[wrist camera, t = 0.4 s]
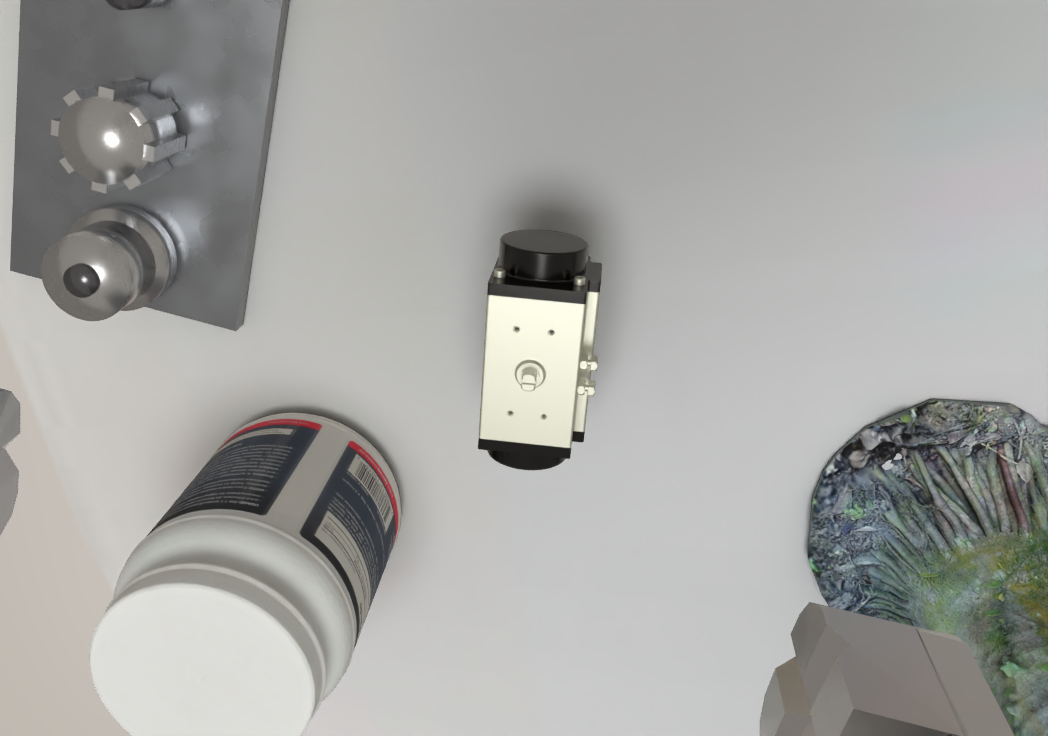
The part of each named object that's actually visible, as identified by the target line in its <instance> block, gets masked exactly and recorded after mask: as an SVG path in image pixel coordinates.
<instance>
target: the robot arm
mask: <svg viewBox="0 0 1048 736" xmlns="http://www.w3.org/2000/svg"><path fill="white" fill-rule="evenodd" d="M19 433H20V403H19V401H18V400H17V399H16V397H15V396H14V395H13V393H12V392H11V391H8V390H4V389H1V388H0V535H1V533H2V532H3V530H4V528H5V526H6V524H7V522H8V521H9V519H10V517H11V516H12V512H13V508H14V504H15V501H16V497H17V493H18V477H19V471H18V469H17V467H16V466H15V464H14V463H13V461H12V459H11V458H10V456H9V454H8V453H7V451H6V450H5V447H6V446H7V445H8V444H9V443H10V442H11V441H12V440H13V439H14V438H15V437H16V436H17V435H19ZM791 637H792V641H793V645H794V649H795V654H796V657H794V658H792V659H791V660H789V661H787V662H786V663H784V664H782V665H781V666H779V667H777V668H775V671H774V673H773V676H772V678H771V681H770V683H769V686H768V688H767V691H766V693H765V697H764V702H763V707H762V712H761V718H760V736H1014V734H1013V732H1012V730H1011V728H1010V726H1009V724H1008V722H1007V720H1006V718H1005V717H1004V715H1003V713H1002V711H1001V709H1000V707H999V705H998V703H997V701H996V699H995V697H994V695H993V693H992V691H991V689H990V688H989V686H988V684H987V682H986V680H985V678H984V676H983V674H982V672H981V670H980V668H979V666H978V664H977V662H976V660H975V659H974V657H973V655H972V653H971V651H970V649H969V647H968V645H967V644H966V643H965V642H964V641H963V640H961V639H960V638H959V637H957V636H956V635H951V634H947V633H942V632H938V631H933V630H929V629H924V628H919V627H915V626H910V625H905V624H901V623H897V622H892V621H888V620H884V619H880V618H875V617H871V616H867V615H863V614H858V613H854V612H850V611H846V610H841V609H837V608H833V607H829V606H824V605H820V604H815V603H811V602H809V604H808V605H807V606H806V607H805V609H804V610H803V611H802V612H801V613H800V615H799V617H798V619H797V622H796V624H795V626H794V628H793V630H792V632H791Z"/></svg>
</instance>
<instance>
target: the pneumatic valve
mask: <svg viewBox="0 0 1048 736" xmlns="http://www.w3.org/2000/svg"><path fill="white" fill-rule="evenodd" d="M587 254H588V244H587V242H586V241H584V240H583V239H581V238H579V237H577V236H574V235H571V234H567V233H562V232H557V231H549V230H518V231H512V232H509V233H506V234H504V235H503V236H502V237H501V239H500V253H499V258H498V260H497V262H496V265H495V267H494V270H493V272H492V274H491V277H490V279H489V281H488V294H487V310H486V327H485V343H484V359H483V376H482V392H481V409H480V425H479V442H478V449H483V450H487V451H488V453H489V455H490V456H491V457H492V458H493V459H494V460H496V461H497V462H499V463H501V464H503V465H506V466H508V467H512V468H516V469H522V470H542V469H548V468H552V467H554V466H557V465H559V464H560V463H562V462H563V461H564V460H565V459H566V458H567V459H569V458H570V454H571V444H572V441H575V442H584V433H585V423H586V414H587V405H588V396H594V391H595V381H591V380H590V377H591V371H597V363H598V356H596V355H593V349H594V340H595V331H596V321H597V312H598V303H599V294H600V284H601V270H602V264H601V263H593V262H590V258H591V257H590V256H587Z"/></svg>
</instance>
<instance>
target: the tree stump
mask: <svg viewBox="0 0 1048 736" xmlns="http://www.w3.org/2000/svg"><path fill="white" fill-rule="evenodd" d="M897 453H900V454H901V455H902V459H900V460H893V459H894V457H895V456H896V454H897ZM891 459H892V461H891V463H893V464H894V465H893V467H892V468H891V469H889V470H884V469H883V468H882V465H883V464H884V463H885V462H886V461H888V460H891ZM808 559H809V562H810V564H811V567H812V570H813V573H814V575H815V578H816V581H817V583H818V586H819V589H820V592H821V594H822V596H823V597H824V599H825V600H826V602H827V604H828V605H829V607H833V608H837V609H841V610H846V611H850V612H854V613H858V614H863V615H867V616H871V617H875V618H880V619H884V620H888V621H892V622H897V623H901V624H905V625H910V626H915V627H919V628H924V629H929V630H933V631H938V632H942V633H947V634H951V635H956V636H957V637H959V638H960V639H961V640H963V641H964V642H965V643H966V644H967V645H968V647H969V649H970V651H971V653H972V655H973V657H974V659H975V660H976V662H977V664H978V666H979V668H980V670H981V672H982V674H983V676H984V678H985V680H986V682H987V684H988V686H989V688H990V689H991V691H992V693H993V695H994V697H995V699H996V701H997V703H998V705H999V707H1000V709H1001V711H1002V713H1003V715H1004V717H1005V718H1006V720H1007V722H1008V724H1009V726H1010V728H1011V730H1012V732H1013V734H1014V736H1048V427H1045V426H1043V425H1041V424H1040V423H1039V422H1038V421H1037V420H1035V419H1034V418H1033V417H1032V416H1031V415H1030V414H1029V413H1027V412H1025V411H1023V410H1021V409H1019V408H1017V407H1016V406H1015V405H1013V404H1010V403H996V402H980V401H964V400H948V399H930V400H928V401H925V402H923V403H921V404H918V405H916V406H913V407H911V408H909V409H906V410H904V411H902V412H899V413H897V414H894V415H892V416H890V417H887V418H885V419H883V420H880V421H878V422H875V423H873V424H871V425H868V426H866V427H864V428H863V429H862V430H861V431H860V432H859V433H857V434H856V435H855V436H854V437H853V438H852V439H851V440H850V441H848V442H847V443H846V444H845V445H844V446H843V447H842V448H841V449H839V450H838V451H837V452H836V453H835V454H834V456H833V457H832V458H831V460H830V461H829V462H828V464H827V465H826V467H825V468H824V469H823V471H822V474H821V476H820V479H819V481H818V484H817V486H816V489H815V491H814V494H813V496H812V507H811V519H810V531H809V544H808Z"/></svg>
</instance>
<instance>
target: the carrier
mask: <svg viewBox="0 0 1048 736" xmlns="http://www.w3.org/2000/svg"><path fill="white" fill-rule="evenodd" d="M289 1H290V0H21V5H20V31H19V57H18V82H17V108H16V134H15V160H14V185H13V211H12V237H11V263H10V271H14V272H18V273H21V274H25V275H29V276H33V277H36V278H40V279H42V280H43V284H44V286H45V289H46V291H47V293H48V295H49V296H50V297H51V299H52V300H53V301H54V302H55V304H56V305H57V306H58V307H59V308H61V309H62V310H63V311H65V312H66V313H68V314H69V315H71V316H73V317H76V318H79V319H82V320H87V321H99V320H104V319H107V318H109V317H111V316H113V315H114V314H116V313H117V312H118V311H120V310H122V311H128V310H135V309H139V308H142V307H148V308H152V309H156V310H159V311H163V312H167V313H171V314H174V315H178V316H182V317H186V318H189V319H193V320H197V321H200V322H204V323H208V324H212V325H215V326H219V327H223V328H227V329H230V330H234V331H236V330H238V329H239V328H240V327H241V326H242V325H243V321H244V314H245V307H246V300H247V293H248V286H249V279H250V273H251V266H252V259H253V252H254V245H255V238H256V231H257V224H258V217H259V210H260V203H261V196H262V189H263V182H264V175H265V168H266V161H267V154H268V147H269V140H270V133H271V126H272V119H273V112H274V105H275V98H276V91H277V84H278V77H279V70H280V63H281V56H282V49H283V42H284V36H285V29H286V22H287V15H288V8H289Z"/></svg>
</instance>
